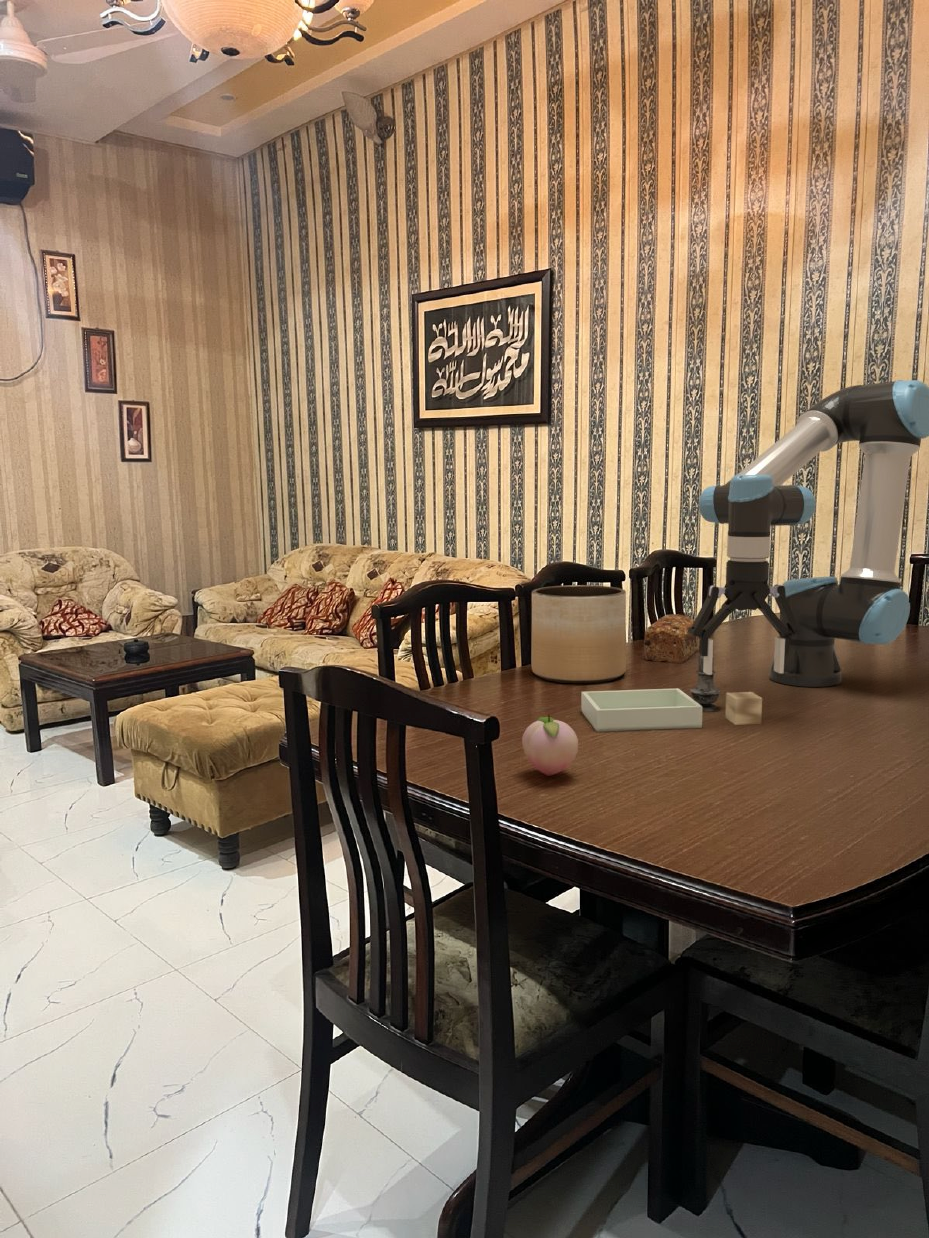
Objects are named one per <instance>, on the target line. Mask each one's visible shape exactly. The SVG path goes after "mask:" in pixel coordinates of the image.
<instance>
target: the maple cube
mask: <svg viewBox="0 0 929 1238" xmlns="http://www.w3.org/2000/svg"><path fill="white" fill-rule="evenodd" d="M762 709H763V697H761V696H760V695H757V694H756V693H755V692H753V691H742V692H741V691H738V692H726V693H725V719H727V721H729V722H730V723H732V724H734V725H735V726H737V725H738V726H739V725H761V724H762V711H763V710H762Z"/></svg>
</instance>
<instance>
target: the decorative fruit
mask: <svg viewBox="0 0 929 1238" xmlns="http://www.w3.org/2000/svg"><path fill="white" fill-rule="evenodd" d="M521 742H522V748H523V751H524V753H525V756H526V758H527V760H528V761H529V762H530V764H531V765H532V766H533V767H534V768H536V769H537V770H538V771H539V772H540V773H542V774H544V775H545V776H547V777H550V776H553V775H557V774H558V773H561V772H562V771H564V770H566V769H567V768H568V767H569V766H570V765H571V764H572V763H573V762H574V760H575V758H576V756H577V753H578V750H579V739H578V736H577V734H576V732H575V730H573V728H572V727H571V726H570V725H569V724H568V723H566V722H564V721H561V720H558V719H554V718H552V717H551V713H547V716H545V717H544V716H541V717H539V718H537V720H536V721H534V722H532V723H531V724H530V725H528V726H527V728H526V729H525V731H524V732H523V735H522V739H521Z"/></svg>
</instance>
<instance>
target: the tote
mask: <svg viewBox="0 0 929 1238" xmlns="http://www.w3.org/2000/svg"><path fill="white" fill-rule="evenodd" d="M580 704H581V710H580V711H581V713H582V714H583V715H584V717H585V718H586V719H587V721H588V722H589V723H590V725H591V726H592V727H593V728H594V730H595V731H596V732H597V733H599V732H600V733H601V732H622V731H623V732H625V731H649V730H676V729H677V730H678V729H682V730H683V729H701V728H702V729H703V711H702V706H701V705H700V704H698V703H697V702H696V701H695V700H694V699H693V697H691V696H689V695H688V694H686V693H685V692H684V691H683V690H681V688H678V687H677V688H655V689H654V688H653V689H648V688H647V689H627V690H626V689H625V690H621V689H620V690H597V691H596V690H594V691H590V690H589V691H581V703H580Z"/></svg>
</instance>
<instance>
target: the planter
mask: <svg viewBox="0 0 929 1238" xmlns="http://www.w3.org/2000/svg"><path fill="white" fill-rule="evenodd" d="M626 599H627V592H626V590H625V589H623V588H620V587H615V586H614V587H613V586H607V585H606V586H605V585H588V584H585V585H584V584H581V585H580V584H579V585H578V584H576V585H573V584H572V585H567V584H566V585H554V586H553V585H552V586H545V587H540V588H535V589H533V590H532V591H531V650H530V651H531V658H530V659H531V663H530V664H531V670H532V672H533V674H535V675H536V676H538V677H539V678H541V679H543V680H546V681H549V682H556V683H562V684H597V683H603V682H609V681H613V680H616V679H618V678H621V676H622V675H624V673H625V672H626V670H627V669H626V668H627V630H626V629H627V626H626V625H627V623H626V621H627V618H626V617H627V602H626V601H627V600H626Z"/></svg>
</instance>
